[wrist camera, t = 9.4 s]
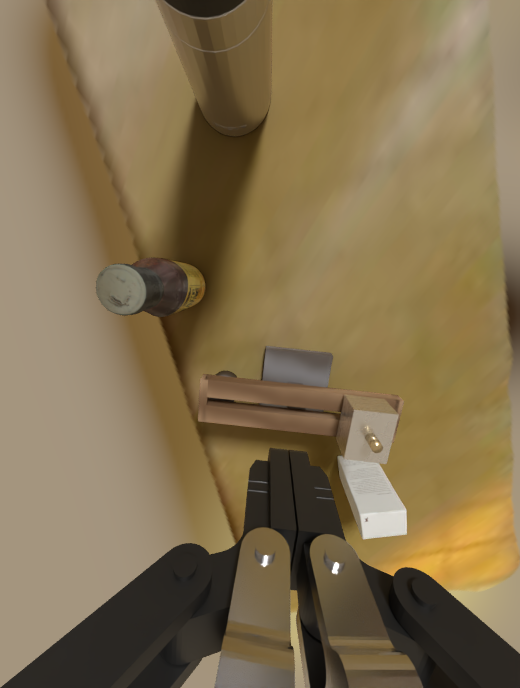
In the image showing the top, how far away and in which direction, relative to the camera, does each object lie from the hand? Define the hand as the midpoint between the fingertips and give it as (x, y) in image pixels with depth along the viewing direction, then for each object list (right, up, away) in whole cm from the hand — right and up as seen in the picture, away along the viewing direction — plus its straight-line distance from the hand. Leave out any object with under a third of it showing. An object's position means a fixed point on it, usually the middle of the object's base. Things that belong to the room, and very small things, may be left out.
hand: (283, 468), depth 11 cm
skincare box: (+15, -15, +36) cm, 42 cm away
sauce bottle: (-12, +14, +30) cm, 35 cm away
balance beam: (+4, -2, +33) cm, 33 cm away
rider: (+12, -4, +26) cm, 29 cm away
